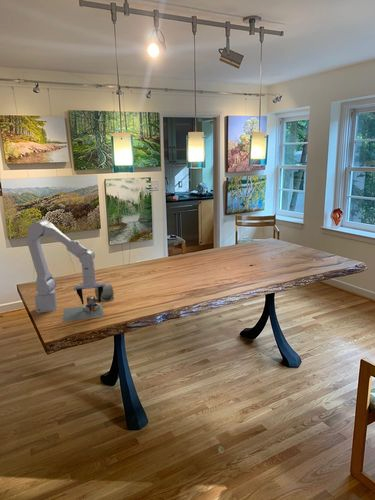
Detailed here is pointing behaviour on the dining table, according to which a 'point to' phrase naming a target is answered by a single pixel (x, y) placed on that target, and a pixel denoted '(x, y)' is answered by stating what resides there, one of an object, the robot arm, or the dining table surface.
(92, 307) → the knob
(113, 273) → the dining table surface
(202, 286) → the dining table surface
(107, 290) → the ceramic mug
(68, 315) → the hub board
